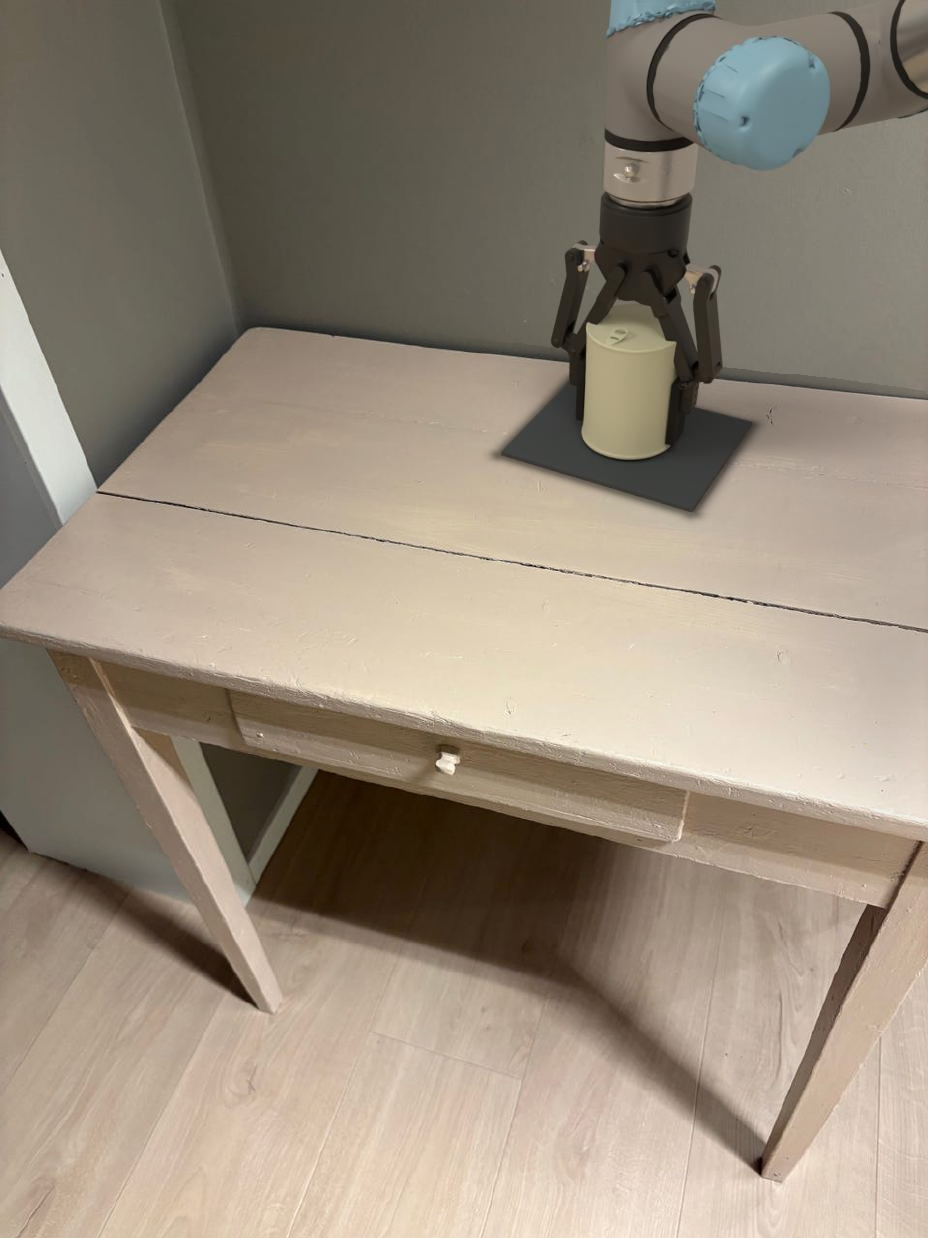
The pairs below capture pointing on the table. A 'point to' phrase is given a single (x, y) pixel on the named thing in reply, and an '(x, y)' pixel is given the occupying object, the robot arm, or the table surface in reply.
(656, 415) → the can
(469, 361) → the table surface
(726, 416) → the mat
